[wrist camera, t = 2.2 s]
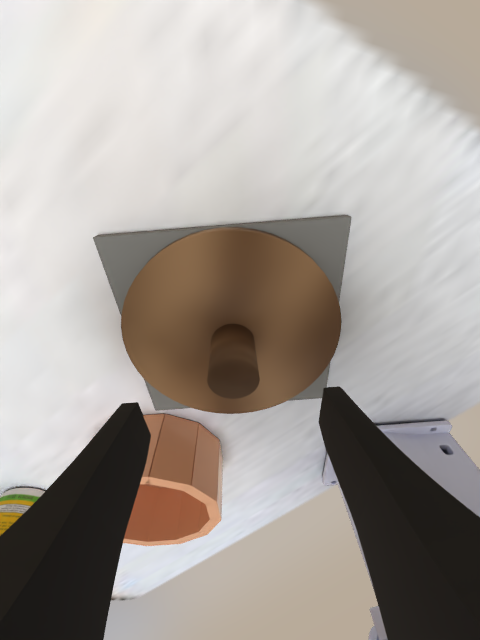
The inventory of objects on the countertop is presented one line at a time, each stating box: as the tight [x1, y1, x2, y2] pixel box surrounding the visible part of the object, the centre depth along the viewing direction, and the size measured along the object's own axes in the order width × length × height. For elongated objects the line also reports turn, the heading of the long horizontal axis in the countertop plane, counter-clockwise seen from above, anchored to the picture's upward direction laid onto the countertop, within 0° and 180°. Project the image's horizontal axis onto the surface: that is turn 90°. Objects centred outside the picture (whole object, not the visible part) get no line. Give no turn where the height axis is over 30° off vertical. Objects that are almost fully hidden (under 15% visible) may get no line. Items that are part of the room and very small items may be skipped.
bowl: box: [123, 414, 223, 546], centre depth 20 cm, size 10×10×4 cm
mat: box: [93, 215, 351, 410], centre depth 15 cm, size 12×12×1 cm
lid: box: [121, 227, 341, 414], centre depth 13 cm, size 12×12×4 cm
